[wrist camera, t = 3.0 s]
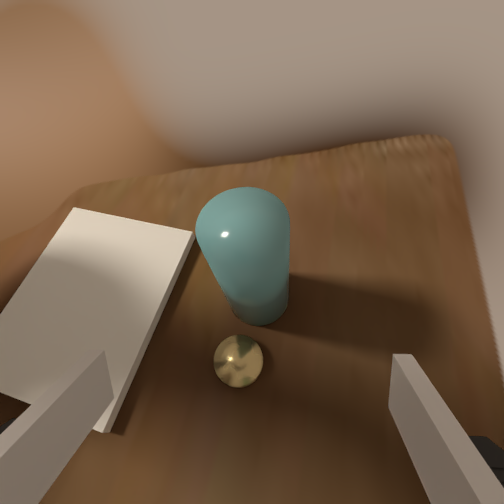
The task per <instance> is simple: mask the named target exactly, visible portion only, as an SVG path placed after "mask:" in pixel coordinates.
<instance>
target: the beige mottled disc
mask: <svg viewBox="0 0 504 504" xmlns="http://www.w3.org/2000/svg"><path fill="white" fill-rule="evenodd" d="M214 369H215V372H216V374H217V376H218V377H219V378H220V380H222V381H223V382H224V383H225V384H227V385H229V386H231V387H235V388H243V387H246V386H249V385H251V384H252V383H254V382H255V381H256V380H257V378H258V377H259V376H260V374H261V372H262V369H263V355H262V351H261V349H260V347H259V345H258V344H257V343H256V342H255V341H254V340H253V339H252V338H250V337H248V336H245V335H233V336H230V337H228V338H226V339H225V340H223V341H222V342H221V343H220V345H219V346H218V347H217V349H216V352H215V355H214Z"/></svg>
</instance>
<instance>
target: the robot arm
mask: <svg viewBox="0 0 504 504" xmlns="http://www.w3.org/2000/svg"><path fill="white" fill-rule="evenodd" d="M113 399H114V394H113V389H112V385H111V380H110V375H109V370H108V365H107V360H106V356H105V351H104V350H88V351H87V352H86V353H85V354H84V355H83V356H82V357H81V358H80V359H79V360H78V361H77V362H76V363H75V364H74V365H73V366H71V367H70V368H69V369H68V370H67V371H66V372H65V373H64V374H63V375H62V376H61V377H60V378H59V379H58V380H57V381H56V382H55V383H54V384H53V385H52V386H51V387H50V388H48V389H47V390H46V391H45V392H44V393H43V394H42V395H41V396H40V397H39V398H38V399H37V400H36V401H35V402H34V403H33V404H32V405H31V406H30V407H29V408H28V409H26V410H25V411H24V412H23V413H22V414H21V415H20V416H19V417H18V418H17V419H16V418H12V419H11V420H9V421H8V422H6V423H5V424H3V425H2V426H0V504H38V503H39V502H40V501H41V499H42V498H43V496H44V495H45V494H46V492H47V491H48V489H49V488H50V487H51V485H52V484H53V482H54V481H55V480H56V478H57V477H58V476H59V474H60V473H61V471H62V470H63V469H64V467H65V466H66V464H67V463H68V462H69V460H70V459H71V457H72V456H73V455H74V453H75V452H76V451H77V449H78V448H79V446H80V445H81V444H82V442H83V441H84V439H85V438H86V437H87V435H88V434H89V432H90V431H91V430H92V428H93V427H94V426H95V424H96V423H97V421H98V420H99V419H100V417H101V416H102V414H103V413H104V412H105V410H106V409H107V408H108V406H109V405H110V403H111V402H112V401H113ZM388 407H389V410H390V412H391V414H392V417H393V419H394V421H395V423H396V426H397V428H398V430H399V432H400V435H401V437H402V439H403V442H404V444H405V446H406V448H407V451H408V453H409V455H410V457H411V460H412V462H413V464H414V467H415V469H416V471H417V473H418V476H419V478H420V480H421V482H422V485H423V487H424V489H425V492H426V494H427V496H428V498H429V501H430V503H431V504H504V451H503V450H502V449H501V448H500V447H498V446H497V445H496V444H495V443H493V442H492V441H491V440H490V439H488V438H487V437H483V436H468V435H467V434H466V432H465V431H464V430H463V428H462V427H461V425H460V424H459V422H458V421H457V419H456V418H455V416H454V415H453V414H452V412H451V411H450V409H449V408H448V406H447V405H446V403H445V402H444V400H443V399H442V398H441V396H440V395H439V393H438V392H437V390H436V389H435V387H434V386H433V384H432V383H431V382H430V380H429V379H428V377H427V376H426V374H425V373H424V371H423V370H422V368H421V367H420V366H419V364H418V363H417V361H416V360H415V358H414V357H413V355H412V354H393V359H392V370H391V381H390V393H389V404H388Z"/></svg>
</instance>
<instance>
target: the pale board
mask: <svg viewBox="0 0 504 504" xmlns="http://www.w3.org/2000/svg"><path fill="white" fill-rule="evenodd" d="M194 240H195V236H194V234H193V232H190V231H186V230H181V229H176V228H171V227H166V226H161V225H157V224H152V223H147V222H142V221H137V220H132V219H128V218H123V217H118V216H113V215H108V214H103V213H99V212H94V211H89V210H84V209H79V208H75V207H74V208H73V209H72V211H71V212H70V214H69V215H68V217H67V218H66V219H65V221H64V222H63V224H62V225H61V227H60V228H59V230H58V231H57V233H56V234H55V235H54V237H53V238H52V240H51V241H50V243H49V244H48V246H47V247H46V249H45V250H44V251H43V253H42V254H41V256H40V257H39V259H38V260H37V262H36V263H35V265H34V266H33V267H32V269H31V270H30V272H29V273H28V275H27V276H26V278H25V279H24V281H23V282H22V283H21V285H20V286H19V288H18V289H17V291H16V292H15V294H14V295H13V296H12V298H11V299H10V301H9V302H8V304H7V305H6V307H5V308H4V310H3V311H2V312H1V314H0V392H1V393H3V394H6V395H8V396H11V397H13V398H16V399H18V400H21V401H23V402H26V403H28V404H31V405H32V404H33V403H34V402H35V401H36V400H37V399H38V398H39V397H40V396H41V395H42V394H43V393H44V392H45V391H46V390H47V389H48V388H50V387H51V386H52V385H53V384H54V383H55V382H56V381H57V380H58V379H59V378H60V377H61V376H62V375H63V374H64V373H65V372H66V371H67V370H68V369H69V368H70V367H71V366H73V365H74V364H75V363H76V362H77V361H78V360H79V359H80V358H81V357H82V356H83V355H84V354H85V353H86V352H87V351H88V350H104V351H105V356H106V360H107V365H108V370H109V375H110V380H111V385H112V389H113V394H114V399H113V401H112V402H111V403H110V405H109V406H108V408H107V409H106V410H105V412H104V413H103V414H102V416H101V417H100V419H99V420H98V421H97V423H96V424H95V426H94V427H93V428H92V429H94V430H96V431H99V432H101V433H107V432H110V431H111V428H112V426H113V424H114V422H115V419H116V417H117V415H118V412H119V410H120V408H121V406H122V403H123V401H124V399H125V397H126V394H127V392H128V390H129V387H130V385H131V383H132V381H133V378H134V376H135V374H136V371H137V369H138V367H139V365H140V362H141V360H142V358H143V356H144V353H145V351H146V349H147V346H148V344H149V342H150V340H151V337H152V335H153V333H154V331H155V328H156V326H157V324H158V321H159V319H160V317H161V315H162V312H163V310H164V308H165V306H166V303H167V301H168V299H169V296H170V294H171V292H172V290H173V287H174V285H175V283H176V281H177V278H178V276H179V274H180V271H181V269H182V267H183V265H184V262H185V260H186V258H187V255H188V253H189V251H190V249H191V246H192V244H193V242H194Z"/></svg>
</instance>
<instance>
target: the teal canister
mask: <svg viewBox="0 0 504 504" xmlns="http://www.w3.org/2000/svg"><path fill="white" fill-rule="evenodd" d="M195 231H196V238H197V241H198V244H199V246H200V248H201V250H202V252H203V254H204V256H205V258H206V260H207V262H208V264H209V266H210V268H211V270H212V272H213V274H214V275H215V277H216V279H217V281H218V283H219V285H220V287H221V289H222V291H223V293H224V295H225V297H226V299H227V301H228V303H229V305H230V307H231V309H232V311H233V312H234V314H235V315H236V316H237V317H238V318H239V319H240V320H241V321H243V322H245V323H247V324H250V325H254V326H263V325H267V324H270V323H272V322H274V321H276V320H277V319H278V318H280V317H281V315H282V314H283V313H284V311H285V310H286V308H287V305H288V301H289V251H290V219H289V214H288V211H287V209H286V207H285V206H284V204H283V203H282V202H281V201H280V199H278V198H277V197H276V196H275V195H273V194H272V193H270V192H268V191H265V190H262V189H259V188H253V187H240V188H234V189H230V190H227V191H225V192H222V193H220V194H219V195H217V196H215V197H214V198H213V199H211V200H210V201H209V202H208V203H207V204H206V205H205V206H204V208H203V209H202V210H201V212H200V214H199V216H198V219H197V222H196V230H195Z"/></svg>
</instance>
